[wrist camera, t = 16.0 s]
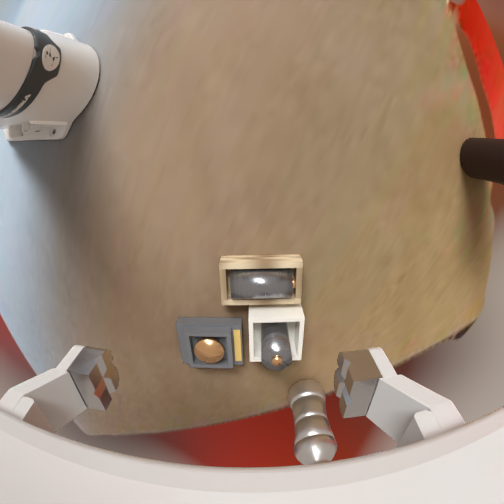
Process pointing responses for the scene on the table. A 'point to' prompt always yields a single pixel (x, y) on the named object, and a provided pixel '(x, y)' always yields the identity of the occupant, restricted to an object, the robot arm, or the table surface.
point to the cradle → (216, 328)
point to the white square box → (276, 314)
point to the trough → (260, 263)
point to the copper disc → (209, 350)
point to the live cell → (261, 283)
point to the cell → (275, 345)
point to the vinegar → (484, 159)
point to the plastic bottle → (311, 423)
